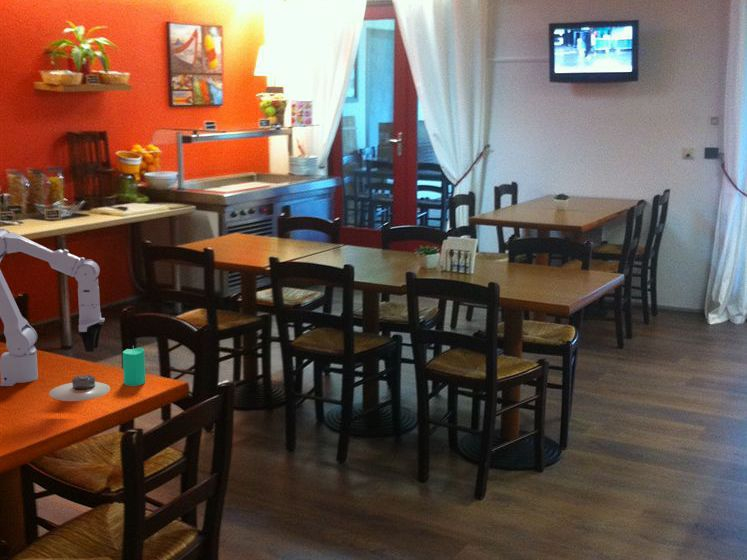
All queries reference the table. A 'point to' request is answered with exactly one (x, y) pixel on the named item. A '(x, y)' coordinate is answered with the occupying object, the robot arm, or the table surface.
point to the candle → (134, 366)
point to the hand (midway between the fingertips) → (91, 349)
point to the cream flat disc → (78, 392)
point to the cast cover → (83, 382)
